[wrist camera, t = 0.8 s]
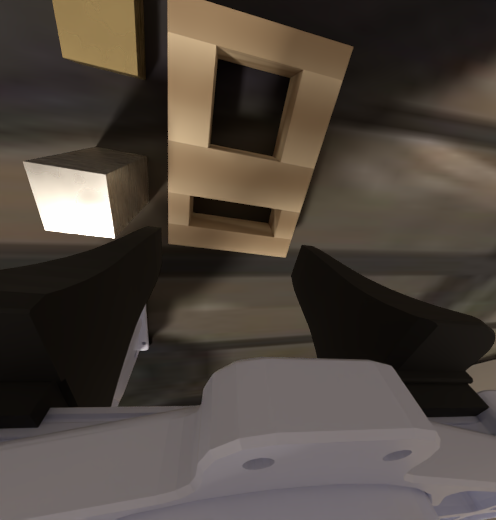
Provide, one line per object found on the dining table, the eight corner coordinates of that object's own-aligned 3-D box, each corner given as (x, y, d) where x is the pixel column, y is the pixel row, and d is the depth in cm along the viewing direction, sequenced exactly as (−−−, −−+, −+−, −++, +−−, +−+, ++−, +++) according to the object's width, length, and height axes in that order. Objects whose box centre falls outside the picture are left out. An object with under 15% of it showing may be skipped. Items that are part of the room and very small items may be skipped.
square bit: (149, 201, 19) (114, 238, 13) (103, 194, 18) (45, 230, 12) (147, 156, 17) (105, 174, 11) (95, 146, 16) (22, 161, 10)
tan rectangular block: (147, 81, 15) (137, 75, 13) (82, 64, 14) (62, 57, 12) (142, -60, 12) (129, -90, 10) (58, -90, 11) (28, -127, 9)
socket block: (278, 241, 22) (285, 257, 19) (175, 228, 20) (168, 243, 18) (331, 59, 15) (353, 46, 12) (178, 14, 13) (167, -12, 10)
